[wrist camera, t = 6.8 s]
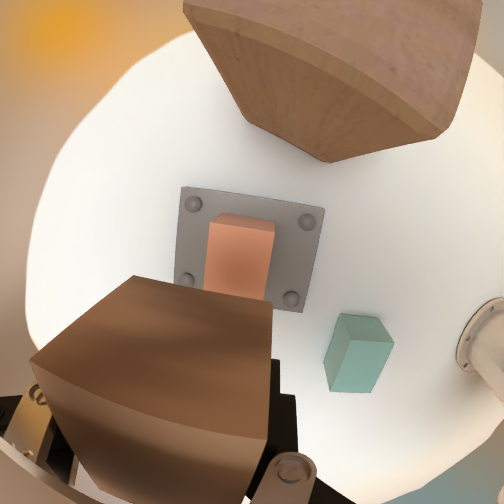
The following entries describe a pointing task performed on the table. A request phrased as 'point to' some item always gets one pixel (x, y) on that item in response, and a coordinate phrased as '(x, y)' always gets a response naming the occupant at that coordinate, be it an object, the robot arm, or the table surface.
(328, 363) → the teal brick
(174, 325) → the walnut brick
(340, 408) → the table surface
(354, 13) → the block
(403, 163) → the table surface
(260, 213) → the baseplate
